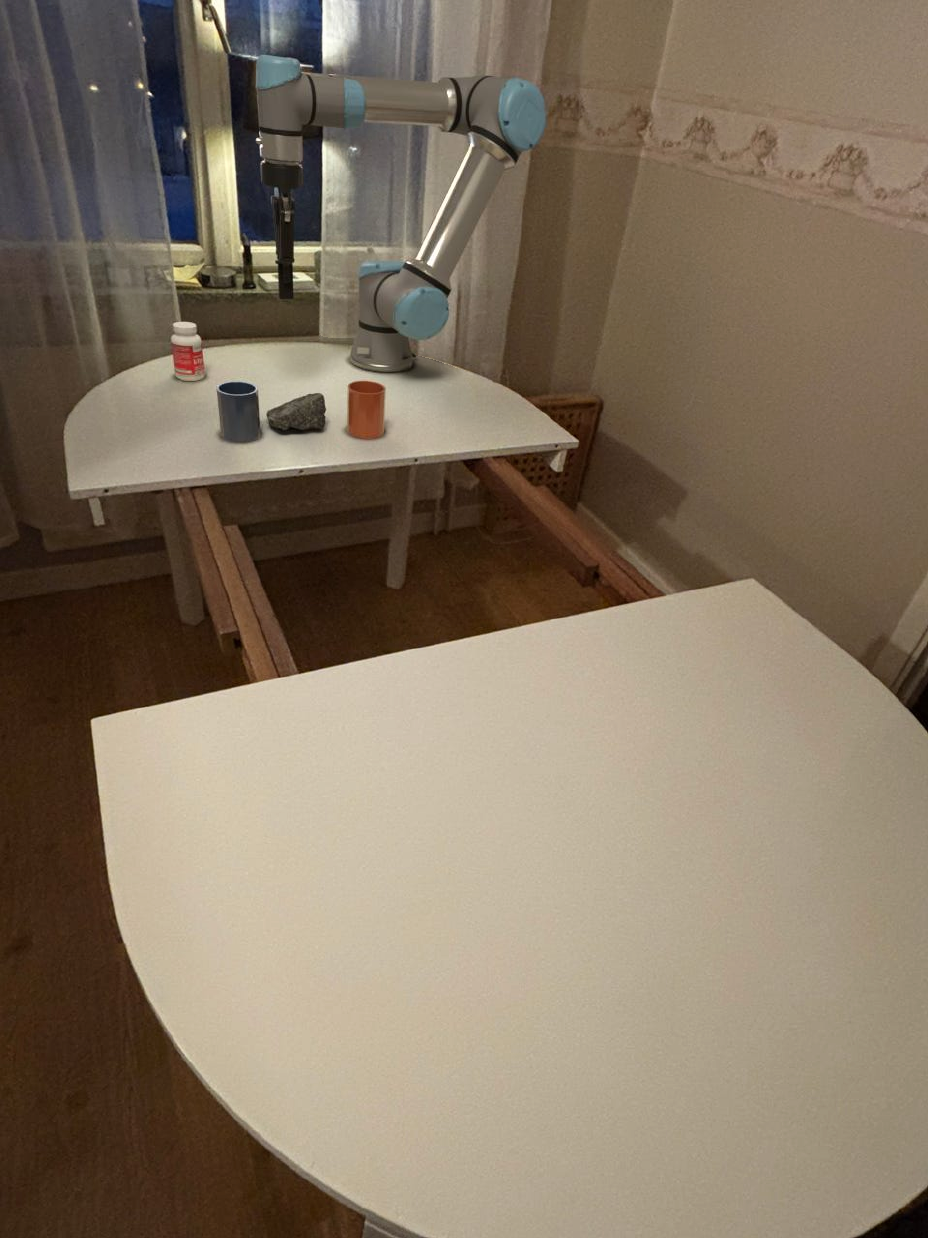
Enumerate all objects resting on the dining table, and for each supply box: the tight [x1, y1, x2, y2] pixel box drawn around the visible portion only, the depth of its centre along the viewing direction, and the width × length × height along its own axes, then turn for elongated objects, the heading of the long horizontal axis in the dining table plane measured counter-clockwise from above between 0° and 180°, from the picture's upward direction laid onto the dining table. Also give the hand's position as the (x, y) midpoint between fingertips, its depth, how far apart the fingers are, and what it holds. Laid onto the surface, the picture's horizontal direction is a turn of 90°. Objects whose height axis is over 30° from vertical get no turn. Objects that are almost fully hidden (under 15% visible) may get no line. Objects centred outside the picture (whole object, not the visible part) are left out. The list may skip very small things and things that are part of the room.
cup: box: [216, 380, 262, 444], centre depth 137 cm, size 7×7×9 cm
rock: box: [265, 392, 327, 431], centre depth 144 cm, size 9×11×6 cm
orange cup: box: [346, 380, 387, 440], centre depth 145 cm, size 7×7×9 cm
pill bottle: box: [170, 321, 206, 382], centre depth 158 cm, size 6×6×11 cm
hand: (286, 297), depth 149 cm, fingers closed
